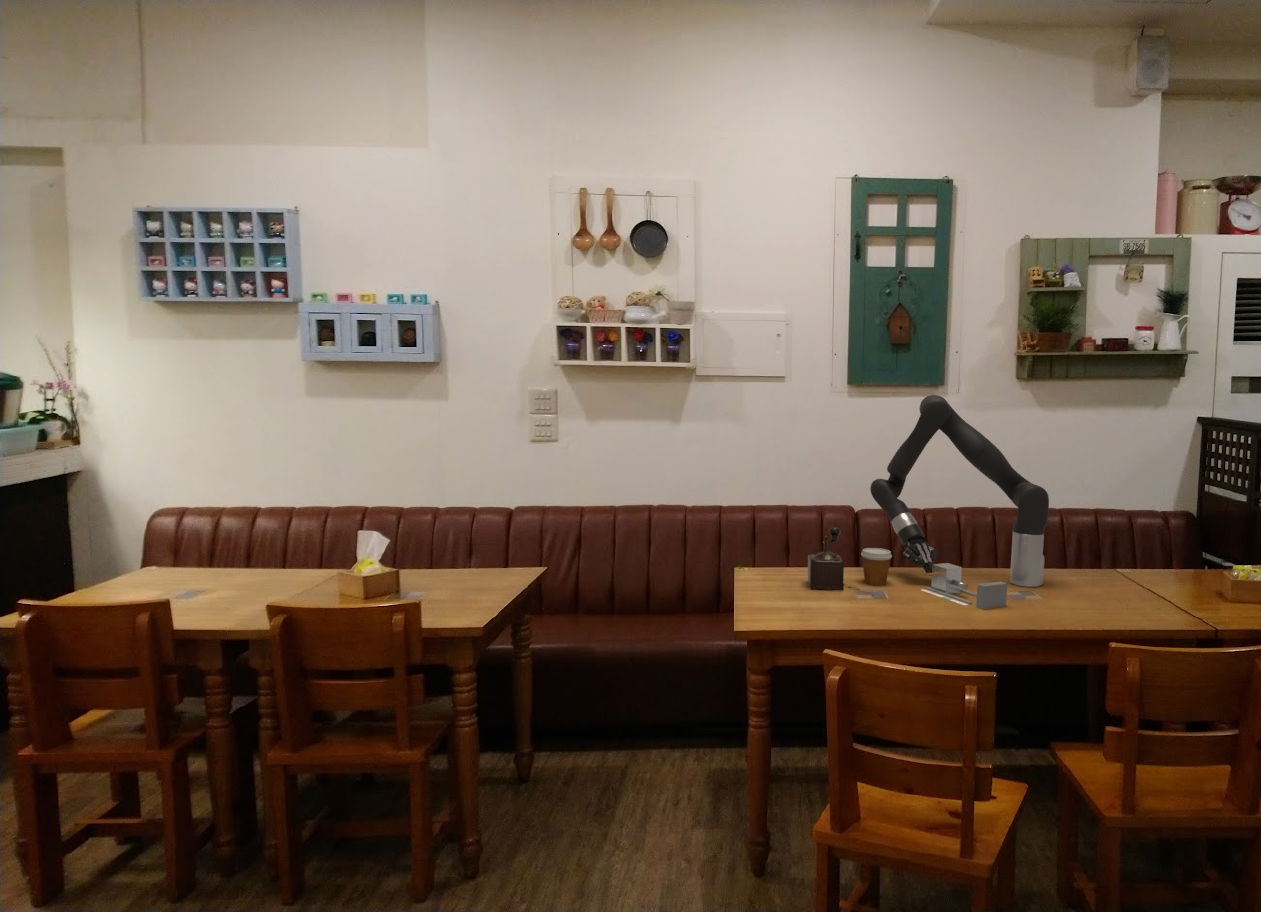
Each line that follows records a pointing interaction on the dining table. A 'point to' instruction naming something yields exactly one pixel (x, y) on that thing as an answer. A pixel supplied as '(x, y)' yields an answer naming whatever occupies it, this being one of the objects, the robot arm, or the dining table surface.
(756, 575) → the dining table surface
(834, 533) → the manual coffee grinder
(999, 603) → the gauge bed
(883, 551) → the disposable coffee cup
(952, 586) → the gauge carriage
